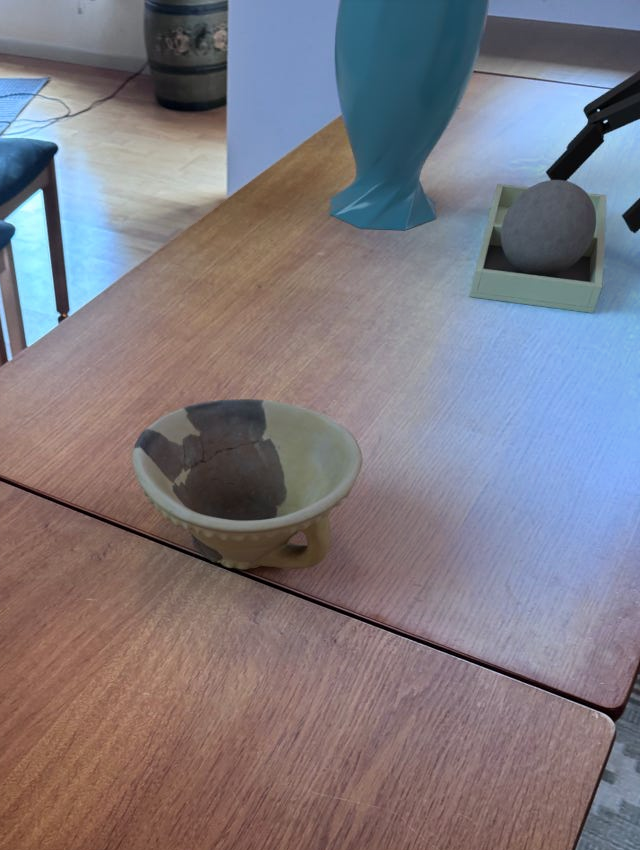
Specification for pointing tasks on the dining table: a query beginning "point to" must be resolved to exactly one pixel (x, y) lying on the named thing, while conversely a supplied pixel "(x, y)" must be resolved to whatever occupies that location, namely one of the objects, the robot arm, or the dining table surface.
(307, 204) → the dining table surface
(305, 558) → the bowl
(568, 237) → the decorative ball
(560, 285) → the organizer
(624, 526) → the dining table surface
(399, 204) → the vase
